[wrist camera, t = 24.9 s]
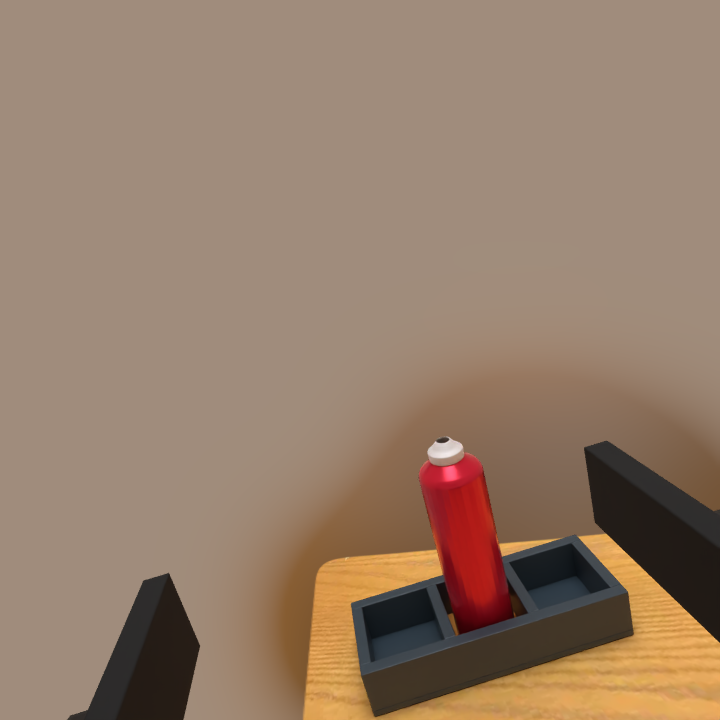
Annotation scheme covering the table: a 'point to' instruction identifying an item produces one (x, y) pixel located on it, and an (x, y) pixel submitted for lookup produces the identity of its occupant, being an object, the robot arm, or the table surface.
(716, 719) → the table surface
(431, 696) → the rack
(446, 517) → the bottle
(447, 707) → the table surface
